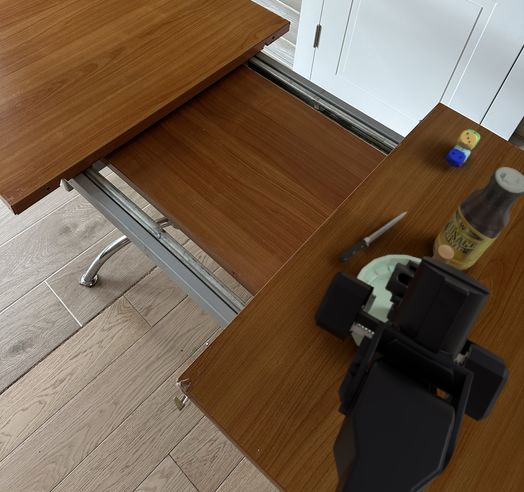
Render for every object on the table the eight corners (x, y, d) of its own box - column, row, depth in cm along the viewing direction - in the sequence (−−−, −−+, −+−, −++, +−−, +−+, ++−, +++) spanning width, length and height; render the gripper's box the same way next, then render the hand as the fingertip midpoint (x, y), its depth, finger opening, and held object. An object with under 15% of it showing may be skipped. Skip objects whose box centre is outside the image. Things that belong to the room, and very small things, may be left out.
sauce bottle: (422, 246, 79) (471, 164, 64) (454, 232, 81) (508, 150, 66) (449, 282, 75) (507, 204, 60) (482, 267, 77) (546, 188, 63)
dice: (454, 175, 89) (468, 151, 84) (440, 167, 90) (453, 142, 85) (473, 150, 94) (487, 125, 89) (460, 142, 95) (473, 118, 90)
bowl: (478, 332, 71) (491, 318, 67) (405, 404, 64) (416, 392, 60) (396, 251, 78) (404, 236, 75) (322, 308, 71) (328, 293, 68)
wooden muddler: (411, 331, 69) (459, 265, 56) (386, 317, 70) (427, 249, 57) (415, 320, 70) (464, 253, 57) (391, 306, 71) (433, 237, 58)
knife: (403, 215, 83) (407, 208, 81) (406, 218, 82) (410, 211, 81) (337, 262, 76) (339, 256, 75) (340, 266, 76) (342, 259, 74)
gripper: (552, 346, 42) (520, 299, 57) (347, 237, 48) (366, 220, 63) (490, 460, 43) (474, 386, 58) (296, 341, 49) (327, 300, 64)
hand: (409, 318), depth 61 cm, fingers open, 9 cm apart
